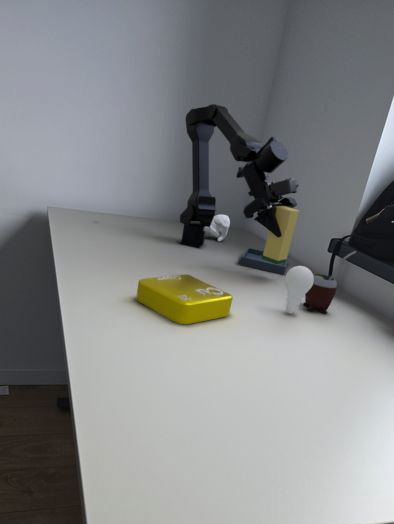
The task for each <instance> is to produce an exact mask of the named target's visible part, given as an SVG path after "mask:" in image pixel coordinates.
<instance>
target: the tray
mask: <svg viewBox="0 0 394 524" xmlns="http://www.w3.org/2000/svg"><path fill="white" fill-rule="evenodd" d="M263 252H264V250H261V249H257V248H253V247H246V249H245V250H244V252H243V254H242V255H241V257H240V261H239V266H245V267H249V268H251V269H252V268H253V269H257V270H262V271H265V272H269V273H275V274H279V275H284V276H285V273H286V270H287V264H288V260H289V256H288V255H287V259H286V262H285V263H281V264H274V263H272V262H269V261H266V260H263V259H262V257H263Z"/></svg>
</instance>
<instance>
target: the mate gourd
mask: <svg viewBox="0 0 394 524" xmlns="http://www.w3.org/2000/svg"><path fill="white" fill-rule="evenodd" d="M356 253H357V251H356V250H355V251H352V252H350V253H348V254H347V255H345V256H344V257H343V258H341V259H340V261H339V263H338V265H337V267H336V268H335V270H334V271H333V273H332V274H331V275H329V274H323V273H312V274H313V277H314V282H313V285H312V287H311V288H310V290H309V291H308V292H307V293H306V294H305V295H304V297H305V298H304V302H303V306H304V307H307V308H306V311H307V312H313V311H316V312H319V313H321V314H324V315H327V313H328V309H329V307H330V306H331V304H332V301H333V300H334V298H335V296H336V292H337V290H338V289H337V287H338V285H337V280H336V279H335V278H334V277H335V275H336V274H337V272H338V271H339V269H340V268H341V266H342V265H343V264H344V263H345V262H346V260H347V259H348V258H350V257H351V256H353V255H354V254H356Z"/></svg>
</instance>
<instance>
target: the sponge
mask: <svg viewBox="0 0 394 524" xmlns="http://www.w3.org/2000/svg"><path fill="white" fill-rule="evenodd" d="M275 207H277V209H276V214H275V216H276V219H277V222H278V225H279V227H280V230H281V234H282V236H281V237H279V238H278V237H277V236H275V235H274V234H273V233H272V232H271V231H269V230H268V232H267V235H266V240H265V243H264V244H265V245H264V248H263V249H264V250H263V251H264V252H263V257H262V259H263V260H266V261H269V262H272V263H274V264H281V263H285V262H286V259H287V256H288V255H289V251H290V248H291V243H292V240H293V236H294V233H295V230H296V225H297V222H298V218H299V213H300V210H299V209H295V208H289V207H286V206H275Z"/></svg>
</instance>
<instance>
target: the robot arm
mask: <svg viewBox="0 0 394 524" xmlns="http://www.w3.org/2000/svg"><path fill="white" fill-rule="evenodd" d="M185 128H186V134H187V136H188V138H189V139H190V141H191V153H192V156H191V157H192V159H191V161H192V162H191V163H192V164H191V165H192V167H191V168H192V169H191V170H192V174H191V175H192V192H191V195H190V196H189V197H188V199H187V203H186V204H187V206H186V208H185V209H184V210H183V211H182V213H181V214H180V215H179V222H180V223H181V224H183V229H182V235H181V240H180V241H179V244H182V245H185V246H190V247H195V248H201V247H202V246H203V245H204V244H205V241H206V236H207V233H206V231H205V226H207V227H210V225H211V223H212V220H213V218H214V216H216V211H217V208H216V205H217V204H216V203H217V199H216V196H212V195H211V193H210V163H209V162H210V147H209V146H210V141H211V139H212V137H213V135H214V133H215V128H217V129H218V130H219V131H220V132H221V134H222V135H223V136H224V138H225V140H227V142H228V143H229V151H230V153H231V156H232V157H233V159H234V161H236V162H240V163H245V165H243V166H239V167H238V168H237V169H238V170H237V173H236V179H241V178H243V179H244V180H245V182H246V184H247V186H248V189H249V192H247V194H248V196H249V197H253V200H251V202H249V203H248V204H246V205H245V206H244V207H243V211H242V212H243V215H244V217H245V219H253V220H254V221H255V222H257V223H258V224H260V225H262V226H263V227H264V228H265V229H267V230H268V232H269V231H271V232H272V233H273V234H274V235H275V236H277V237H278V238H279V237H281V236H282V234H281V230H280V227H279V225H278V222H277V219H276V216H275V214H276V209H277V207H275V206H286V207H289V208H292V209H295V207H297V206H298V203H297V200H296V199H295V198H293V197H289V196H288V197H287V196H286V195H289V194H296V193H298V187H299V183H298V182H297V180H296V179H295V178H294V177H289V178H285V179H284V180H279V181H275V180H271V179H270V177H269V175H268V174H272V173H274V172H275V171H276V170H277V169H278V168H280V166H281V165H282V164H283V163H285V162H286V161H287V160H288V158H289V151H288V149H287V148H286V147H285V145H284V144H283V143H282V142H280V140H279V138H278V137H275V136H271V137H270V138H268V140H267V142H266V143H265V144H262V142H261V141H259V140H258V139H257V138H255V137H254V136H252V135H250V134H248V133H246V132H245V131H244V129H243V128H242V127H241V126H240V125H239V123H238V122H237V121H236V120H235V119H234V117H233V116H232V114H230V112H229V110H228V108H227V107H226V106H224V105H221V104H215V103H212V104H209V105H207V106H202V107H196V108H191V109H190V110H189V111H188V112H187V113H186V115H185ZM255 213H256V215H257V216H256V217H254V214H255Z"/></svg>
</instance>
